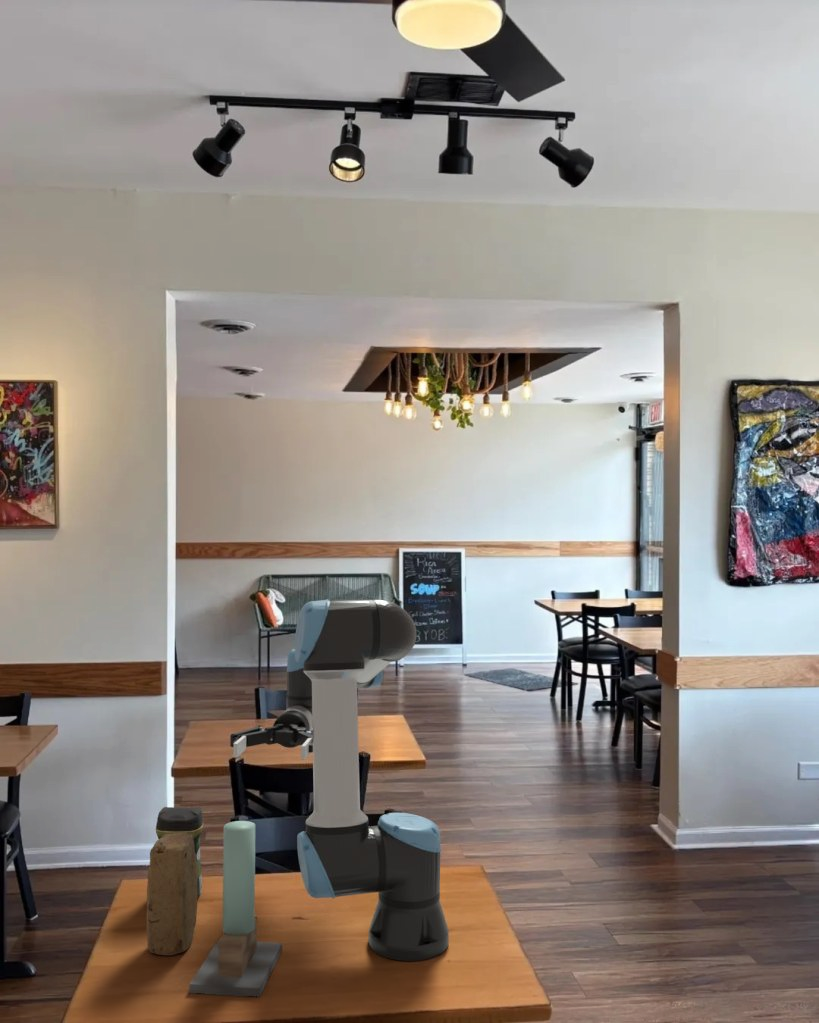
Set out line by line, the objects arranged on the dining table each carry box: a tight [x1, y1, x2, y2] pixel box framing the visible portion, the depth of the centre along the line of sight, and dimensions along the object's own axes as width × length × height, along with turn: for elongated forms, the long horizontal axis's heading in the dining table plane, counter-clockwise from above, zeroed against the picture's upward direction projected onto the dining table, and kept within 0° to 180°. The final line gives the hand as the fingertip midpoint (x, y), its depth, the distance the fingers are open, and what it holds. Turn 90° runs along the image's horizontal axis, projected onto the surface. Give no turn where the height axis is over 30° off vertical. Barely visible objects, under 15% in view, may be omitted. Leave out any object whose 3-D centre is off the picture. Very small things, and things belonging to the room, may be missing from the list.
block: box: [146, 833, 198, 956], centre depth 168 cm, size 11×8×20 cm
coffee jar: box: [155, 806, 204, 898], centre depth 189 cm, size 10×8×19 cm
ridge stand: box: [188, 915, 283, 998], centre depth 158 cm, size 16×12×8 cm
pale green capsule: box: [222, 820, 256, 936], centre depth 158 cm, size 6×6×18 cm
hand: (269, 751), depth 176 cm, fingers open, 13 cm apart
